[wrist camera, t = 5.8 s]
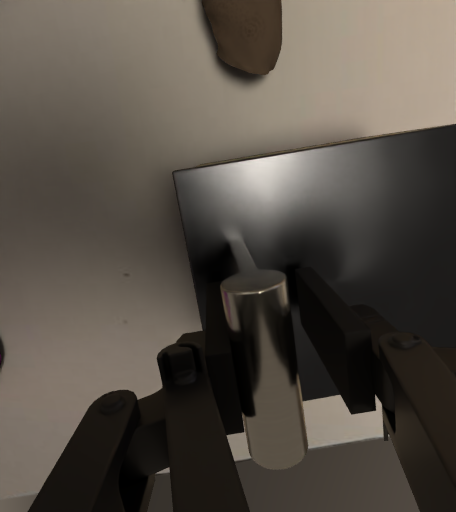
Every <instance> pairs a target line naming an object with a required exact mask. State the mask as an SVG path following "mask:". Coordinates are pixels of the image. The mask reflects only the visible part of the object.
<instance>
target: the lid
mask: <svg viewBox="0 0 456 512" xmlns="http://www.w3.org/2000/svg"><path fill="white" fill-rule="evenodd" d="M172 174H173V180H174V185H175V190H176V195H177V200H178V205H179V211H180V216H181V221H182V226H183V231H184V236H185V242H186V247H187V252H188V257H189V262H190V268H191V273H192V278H193V283H194V288H195V293H196V299H197V304H198V309H199V314H200V319H201V324H202V330H203V331H204V330H205V328H206V287H207V283H212V282H219V281H223V282H222V283H221V286H220V289H221V295H222V300H223V306H224V312H225V318H226V323H227V329H228V335H229V339H230V345H231V351H232V357H233V363H234V368H235V374H236V380H237V386H238V392H239V398H240V403H241V410H242V415H243V421H244V426H245V432H246V438H247V443H248V449H249V453H250V456H251V457H252V459H253V460H254V461H255V462H256V463H257V464H259V465H260V466H262V467H265V468H268V469H274V470H280V469H286V468H290V467H292V466H294V465H296V464H297V463H299V462H300V461H301V460H302V459H303V458H304V456H305V455H306V452H307V449H308V441H307V433H306V425H305V417H304V409H303V401H307V400H313V399H318V398H324V397H329V396H335V395H340V393H339V391H338V389H337V388H336V386H335V384H334V382H333V380H332V379H331V377H330V375H329V373H328V371H327V370H326V368H325V366H324V364H323V362H322V361H321V359H320V357H319V355H318V354H317V352H316V350H315V348H314V346H313V345H312V343H311V341H310V339H309V337H308V336H307V334H306V332H305V330H304V328H303V327H302V325H301V320H300V311H299V302H298V293H297V284H296V276H295V269H299V268H306V267H312V268H313V269H314V270H315V271H316V272H317V273H318V274H319V275H320V276H321V277H322V279H323V280H324V281H325V282H326V283H327V284H328V285H329V286H330V287H331V288H332V289H333V290H334V291H335V292H336V293H337V294H338V295H339V296H340V297H341V299H342V300H343V301H344V302H345V303H346V304H347V305H348V306H352V305H358V304H364V305H367V306H369V307H372V308H374V309H375V310H376V311H377V312H378V313H379V314H380V315H381V316H383V317H384V318H385V320H387V321H388V322H389V323H390V324H391V325H392V326H394V327H395V328H396V329H397V330H398V331H399V332H409V333H414V334H416V335H419V336H421V337H422V338H424V339H425V340H426V341H427V342H428V343H429V345H430V346H431V347H446V348H456V124H453V125H447V126H441V127H435V128H429V129H423V130H417V131H411V132H405V133H398V134H392V135H386V136H380V137H374V138H368V139H362V140H356V141H350V142H344V143H338V144H332V145H326V146H320V147H314V148H308V149H302V150H296V151H290V152H284V153H278V154H272V155H266V156H260V157H254V158H248V159H242V160H236V161H230V162H224V163H218V164H211V165H205V166H199V167H193V168H187V169H181V170H175V171H173V172H172Z"/></svg>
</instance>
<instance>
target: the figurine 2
mask: <svg viewBox="0 0 456 512" xmlns="http://www.w3.org/2000/svg"><path fill="white" fill-rule="evenodd" d="M202 4H203V6H204V7H205V12H206V15H207V17H208V18H209V20H210V22H211V24H212V29H213V34H214V36H215V38H216V40H217V44H218V51H217V55H218V56H219V57H220V58H221V59H222V60H223V61H225V62H226V63H227V64H229V65H232V66H234V67H236V68H239V69H242V70H244V71H247V72H250V73H254V74H261V75H266V74H268V73H269V71H271V70H273V69H274V67H275V65H276V62H277V59H278V57H279V53H280V50H281V44H282V5H281V0H202Z"/></svg>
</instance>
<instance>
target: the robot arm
mask: <svg viewBox="0 0 456 512" xmlns="http://www.w3.org/2000/svg"><path fill="white" fill-rule="evenodd" d="M295 276H296V284H297V293H298V302H299V311H300V320H301V325H302V327H303V328H304V330H305V332H306V334H307V336H308V337H309V339H310V341H311V343H312V345H313V346H314V348H315V350H316V352H317V354H318V355H319V357H320V359H321V361H322V362H323V364H324V366H325V368H326V370H327V371H328V373H329V375H330V377H331V379H332V380H333V382H334V384H335V386H336V388H337V389H338V391H339V393H340V395H341V397H342V398H343V400H344V402H345V404H346V406H347V407H348V409H349V411H350V413H351V415H352V414H358V413H364V412H370V411H376V404H375V395H376V396H377V398H378V399H379V400H380V402H381V403H382V414H383V432H384V441H388V434H389V435H390V438H391V440H392V443H393V445H394V447H395V450H396V453H397V455H398V457H399V460H400V463H401V465H402V468H403V470H404V473H405V475H406V478H407V480H408V483H409V485H410V488H411V490H412V493H413V495H414V497H415V500H416V502H417V505H418V507H419V510H420V512H456V348H446V347H431V346H430V345H429V343H428V342H427V341H426V340H425V339H424V338H422V337H421V336H419V335H416V334H414V333H409V332H399V331H398V330H397V329H396V328H395V327H394V326H392V325H391V324H390V323H389V322H388V321H387V320H385V318H384V317H383V316H381V315H380V314H379V313H378V312H377V311H376V310H375V309H374V308H372V307H369V306H367V305H364V304H358V305H352V306H348V305H347V304H346V303H345V302H344V301H343V300H342V299H341V297H340V296H339V295H338V294H337V293H336V292H335V291H334V290H333V289H332V288H331V287H330V286H329V285H328V284H327V283H326V282H325V281H324V280H323V279H322V277H321V276H320V275H319V274H318V273H317V272H316V271H315V270H314V269H313V268H312V267H306V268H299V269H295ZM222 282H223V281H219V282H212V283H207V287H206V328H205V330H204V331H198V332H191V333H185V334H183V335H182V336H181V337H180V338H179V339H178V340H177V342H176V343H175V344H172V345H169V346H168V347H166V348H164V349H162V350H161V351H160V352H159V353H158V356H157V362H158V366H159V371H160V375H161V379H162V385H163V388H162V389H161V390H159V391H158V392H156V393H154V394H152V395H150V396H147V397H144V398H142V399H139V400H137V397H136V395H135V394H134V392H132V391H129V390H117V391H112V392H109V393H106V394H104V395H102V396H101V397H100V398H98V399H97V400H95V401H94V402H93V403H92V405H91V406H90V407H89V408H88V410H87V412H86V413H85V415H84V417H83V419H82V420H81V422H80V424H79V425H78V427H77V429H76V430H75V432H74V434H73V436H72V437H71V439H70V441H69V442H68V444H67V446H66V447H65V449H64V451H63V453H62V454H61V456H60V458H59V459H58V461H57V463H56V464H55V466H54V468H53V470H52V471H51V473H50V475H49V476H48V478H47V480H46V481H45V483H44V485H43V487H42V488H41V490H40V492H39V493H38V495H37V497H36V499H35V500H34V502H33V504H32V505H31V507H30V509H29V511H28V512H147V509H148V505H149V501H150V497H151V494H152V490H153V486H154V482H155V473H157V472H159V471H161V470H163V469H166V468H168V467H170V479H171V491H172V502H173V512H250V511H249V507H248V504H247V501H246V498H245V494H244V491H243V488H242V485H241V482H240V478H239V475H238V472H237V469H236V465H235V462H234V459H233V455H232V452H231V449H230V446H229V443H228V439H227V436H226V435H230V434H236V433H242V432H244V426H243V418H242V410H241V403H240V398H239V392H238V386H237V380H236V374H235V368H234V363H233V357H232V351H231V345H230V339H229V335H228V329H227V323H226V318H225V312H224V306H223V300H222V295H221V289H220V286H221V283H222Z"/></svg>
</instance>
